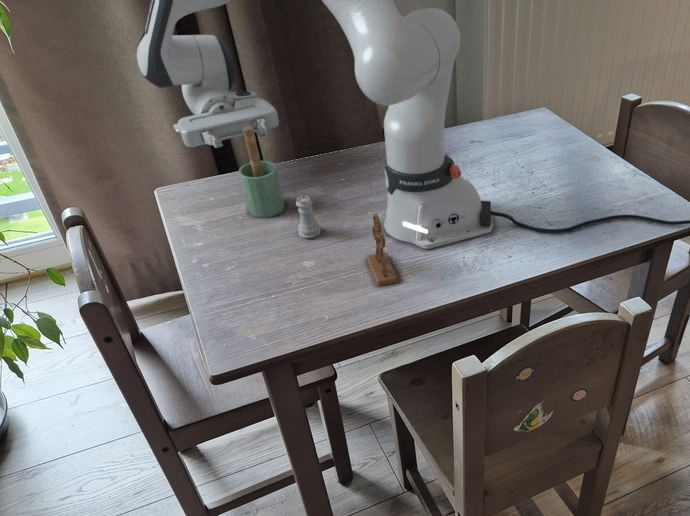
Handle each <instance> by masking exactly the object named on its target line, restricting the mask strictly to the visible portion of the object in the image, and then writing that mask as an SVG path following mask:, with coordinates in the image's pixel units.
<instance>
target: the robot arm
mask: <svg viewBox="0 0 690 516" xmlns="http://www.w3.org/2000/svg"><path fill="white" fill-rule="evenodd" d="M230 1H231V0H150V1H149V6H148V10H147V15H146V20H145V24H144V27H143V32H142V35H141V37H140V38H139V41H138V42H137V47H136V60H137V65H138V69H139V71H140V74H141V76H142V77H143V78H144V79H145V80H146V81H148V82H149V83H150V84H152V85H154V86H155V87H157V88H159V89H163V88H170V87H174V86H181V93H182V97H183V99H184V102H185V104H186V106H187V108H188V109H189V110H190V112H191V113H192V114H193V115H189V116H184V117H181V118H180V119H179V120H178V121H177V122H176V123H174V124H173V125H172V129H174V131H175V133H178V134H180V136H181V139H182V142H183V144H184V145H185V147H188V148H196V147H199V146H203V145H209V146H213V147H214V148H215V149H217V148H221V147H223V146H224V144H223V143H222V142H223V141H225V140H229V139H234V138H238V137H241V136H244V134H243V130H242V129H243V128H244V127H247V126H251V127H253V130H254V133H257V135H258V136H259V137H260V138H262V137H267V136H268V130H271V129H275V128H278V127H279V125H280V120H279V115H278V114H279V113H278V111H277V109H276V108H275V107H274V106H273V105H272V104H271V103H270V102H268V101H267V100H265V99H263V98H261V97H258V94H257V93H256V92H255V91H231V90H232V88H233V85H234V84H235V75H236V74H235V63H234V60H233V59H234V58H233V56H232V53H231V52H230V50H229V48H228V47H227V46H226V44H225V43H224V42H223V40H221V39H220V38H219V37H218V36H217V35H215V34H181V35H180V34H179V35H178V34H175V35H174V31H175V27H176V25H177V22H178V21H179V20H180V19H182V18H184V17H185V16H187V15H191V14H194V13H196V12H197V13H198V12H199V11H204V10H208V9H212V8H214V9H215V8H218V7H221V6H224V5H226V4H227V3H229V2H230ZM321 2H322V3H323V4H324V5H325V6H326V7H327V9H328V10H329V11H330V13H331V14H332V15H333V16H334V18H335V20H336V21H337V22H338V24H339V26H340V28H341V29H342V31H343V33H344V35H345V37H346V39H347V41H348V43H349V46H350V48H351V51H352V54H353V58H354V76H355V81H356V83H357V85H358V87H359V88H360V90H361V92H362V93H363V95H365V96H366V98H368V100H370V101H372V103H375V104H377V105H380V106H387V107H388V108H387V109H386V113H385V115H384V118H383V119H384V120H383V132H384V133H383V134H384V146H385V156H386V157H385V160H384V170H383V171H384V181H385V187H386V190H387V201H386V211H385V217H384V220H383V228H384V231H385V232H386V233H387V234H388V236H390V237H392V238H394V239H396V240H398V241H401V242H404V243H410V244H413V245H416V246H417V247H419V248H421V249H423V250H429V249H431V250H432V249H434V248H438V247H442V246H445V245H449V244H453V243H457V242H460V241H464V240H467V239H472V238H475V237H479V236H483V235H486V234H489V233H491V232H492V230H493V228H494V218H493V216H496V217H501V218H505V219H507V220H509V221H510V222H511V223H513V225H515V226H518V227H521V228H523V229H527V230H530V231H534V232H538V233H550V234H551V233H554V234H555V233H557V234H559V233H566V232H570V231H575V230H576V229H579V228H582V227H585V226H588V225H592V224H597V223H601V222H606V221H612V220H618V219H635V220H642V221H647V222H650V223H651V222H652V223H657V224H662V225H669V226H674V225H675V226H676V225H677V226H679V225H690V219H689V220H687V219H686V220H665V219H659V218H653V217H649V216H645V215H637V214H616V215H609V216H604V217H600V218H596V219H591V220H586V221H584V222H581V223H578V224H575V225H572V226H569V227H565V228H542V227H541V228H540V227H534V226H532V225H531V226H530V225H527V224H525V223H522V222H519V221H517V220H516V219H515V218H514V217H513V216H511V215H509V214H506V213H503V212H499V211H498V212H497V211H492V205H491V204H492V203H491V202H492V201H490V200H482V199H481V196H480V194H479V192H478V190H477V188H476V187H475V185H473V183H471V181H469V180H468V179H466V178H464V177H462V171H461V169H460V167H459V166H458V165H456V164H455V160H453V158H451V157H450V155H449V154H448V152H445V119H446V112H447V111H446V110H447V104H448V99H449V94H450V88H451V83H452V76H453V69H454V64H455V61H456V59H457V55H458V53H459V50H460V47H461V33H460V29H459V27H458V24H457V22H456V20H455V19H454V18H453V17H452V15H450V14H449V13H448V12H447V11H445V10H443V9H440V8H437V7H436V8H435V7H430V8H429V7H428V8H420V9H416V10H413V11H411V12H409V13H408V14H407V15H405V16H402V14H401V13H400V12H399V9H398V8H397V5H396V4H395V2H394V0H321ZM689 320H690V314H687V315H686V316H685V319H684V322H683V325H682V327H681V331H680V333H679V336H678V340H677V342H676V344H677V345H678V346H680V345H681V343H682V341H683V337H684V334H685V331H686V328H687V325H688V322H689Z"/></svg>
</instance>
